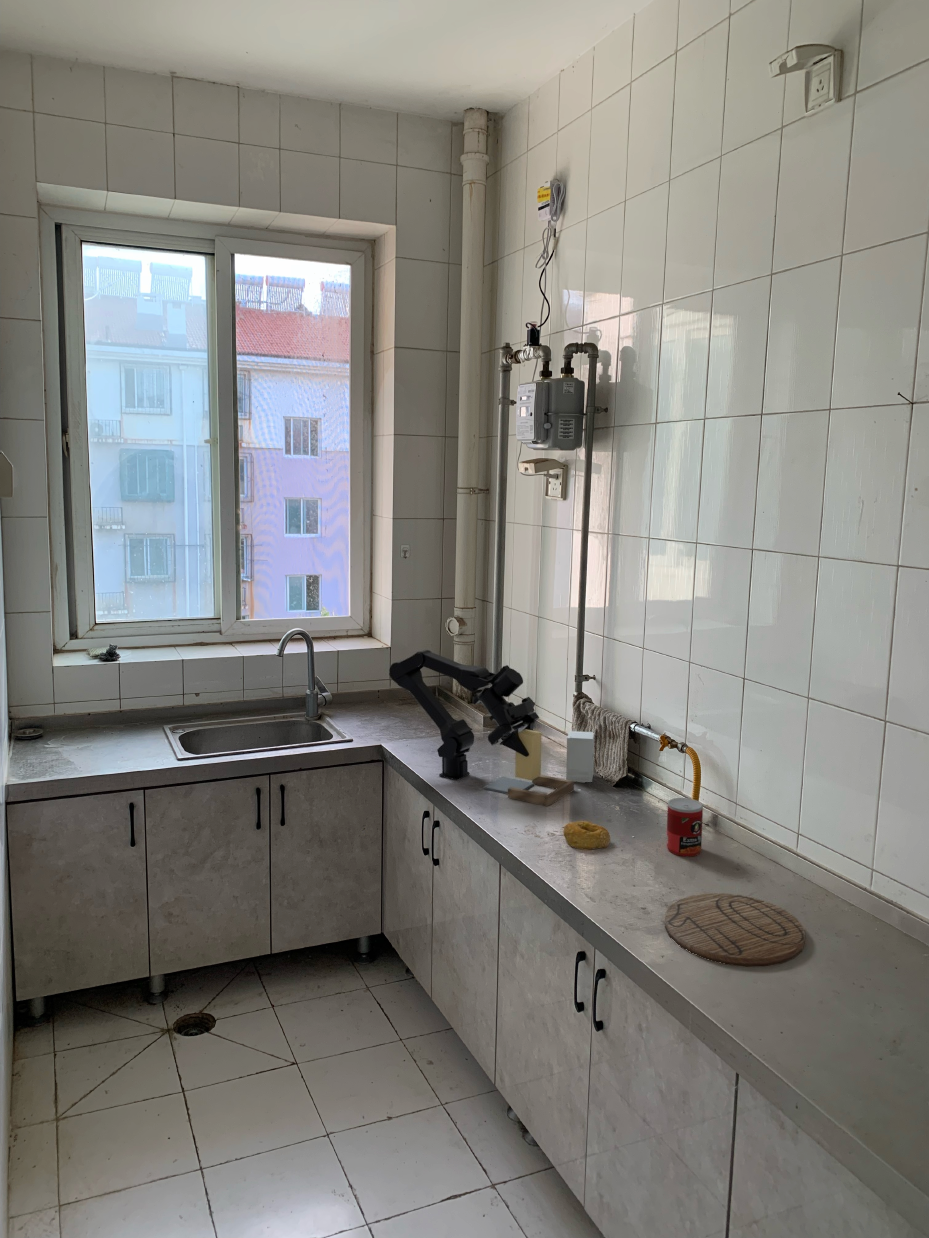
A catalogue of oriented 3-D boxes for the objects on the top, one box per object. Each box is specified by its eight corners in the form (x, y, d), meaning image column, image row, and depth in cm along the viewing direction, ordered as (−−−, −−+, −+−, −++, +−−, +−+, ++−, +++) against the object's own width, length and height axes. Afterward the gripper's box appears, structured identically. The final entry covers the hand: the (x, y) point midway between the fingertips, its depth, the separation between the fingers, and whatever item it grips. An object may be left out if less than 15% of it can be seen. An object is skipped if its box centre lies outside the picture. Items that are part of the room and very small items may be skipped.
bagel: (600, 855, 206) (600, 834, 206) (555, 846, 212) (555, 826, 211) (617, 840, 215) (617, 820, 214) (573, 832, 220) (573, 812, 220)
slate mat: (483, 788, 250) (483, 786, 250) (502, 778, 258) (502, 776, 258) (515, 795, 244) (515, 793, 244) (534, 785, 252) (534, 782, 252)
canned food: (682, 859, 203) (683, 812, 202) (658, 846, 210) (660, 800, 209) (708, 853, 207) (710, 806, 205) (685, 840, 214) (686, 795, 212)
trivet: (723, 981, 156) (723, 970, 155) (638, 916, 178) (638, 907, 178) (835, 950, 165) (835, 940, 165) (741, 892, 188) (741, 884, 188)
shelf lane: (507, 797, 243) (507, 788, 243) (534, 782, 255) (534, 773, 254) (548, 806, 236) (548, 796, 236) (573, 790, 248) (573, 781, 248)
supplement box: (592, 783, 254) (593, 739, 252) (565, 781, 255) (566, 737, 253) (594, 774, 261) (594, 731, 259) (567, 773, 262) (568, 730, 260)
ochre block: (515, 776, 246) (515, 733, 245) (524, 771, 251) (525, 729, 249) (531, 780, 244) (532, 736, 242) (540, 775, 248) (541, 732, 246)
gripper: (498, 696, 238) (534, 744, 234) (533, 682, 253) (568, 727, 249) (472, 721, 243) (507, 769, 239) (508, 706, 259) (542, 750, 255)
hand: (532, 753), depth 245 cm, fingers closed on ochre block, 5 cm apart
